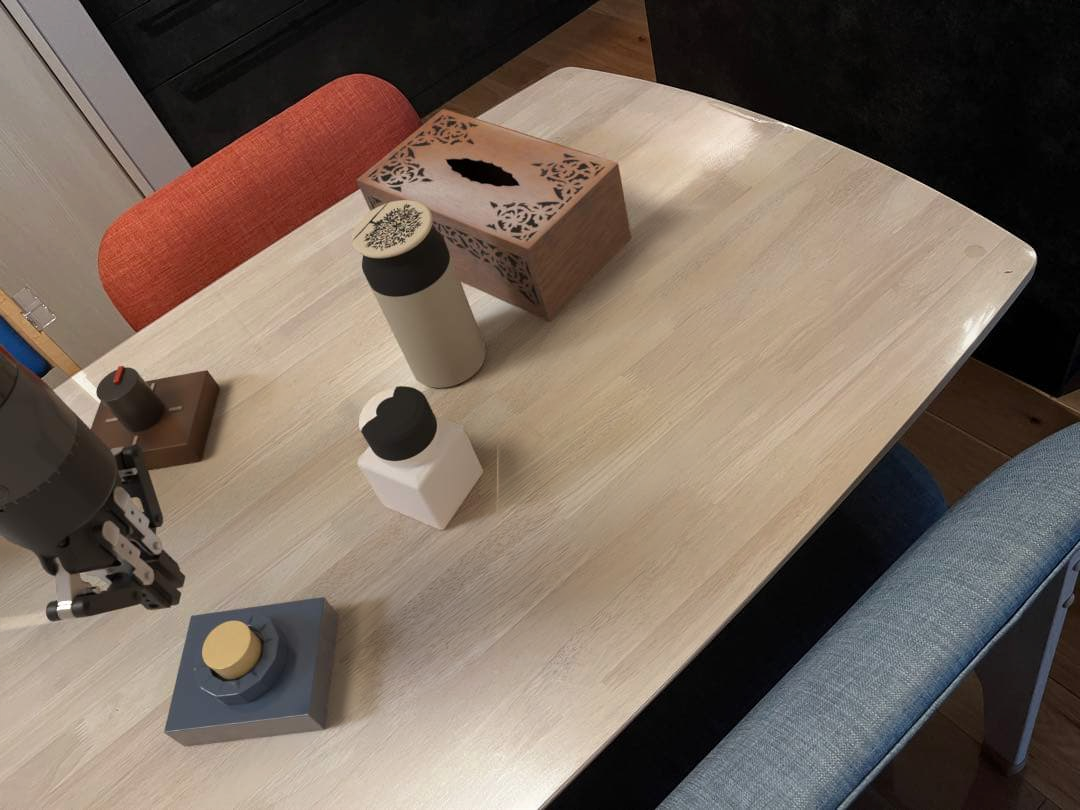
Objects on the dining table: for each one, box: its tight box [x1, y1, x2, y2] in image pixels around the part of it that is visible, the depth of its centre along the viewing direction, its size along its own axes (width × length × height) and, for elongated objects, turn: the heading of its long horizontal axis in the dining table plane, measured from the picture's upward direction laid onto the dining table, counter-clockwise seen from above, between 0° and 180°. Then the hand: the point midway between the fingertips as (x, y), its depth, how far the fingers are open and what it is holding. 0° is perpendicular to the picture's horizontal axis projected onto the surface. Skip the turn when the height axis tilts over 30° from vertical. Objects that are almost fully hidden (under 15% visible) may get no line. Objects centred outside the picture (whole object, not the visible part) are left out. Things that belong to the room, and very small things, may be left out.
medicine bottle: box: [357, 385, 484, 531], centre depth 80 cm, size 7×7×12 cm
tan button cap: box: [202, 621, 262, 679], centre depth 71 cm, size 4×4×2 cm
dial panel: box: [90, 369, 221, 471], centre depth 96 cm, size 12×10×3 cm
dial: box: [95, 365, 164, 431], centre depth 93 cm, size 4×4×5 cm
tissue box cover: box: [356, 107, 632, 322], centre depth 101 cm, size 26×14×10 cm, turn 50°
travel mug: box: [351, 200, 487, 389], centre depth 88 cm, size 8×8×18 cm
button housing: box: [163, 596, 339, 747], centre depth 74 cm, size 12×10×5 cm
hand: (170, 593), depth 64 cm, fingers closed
